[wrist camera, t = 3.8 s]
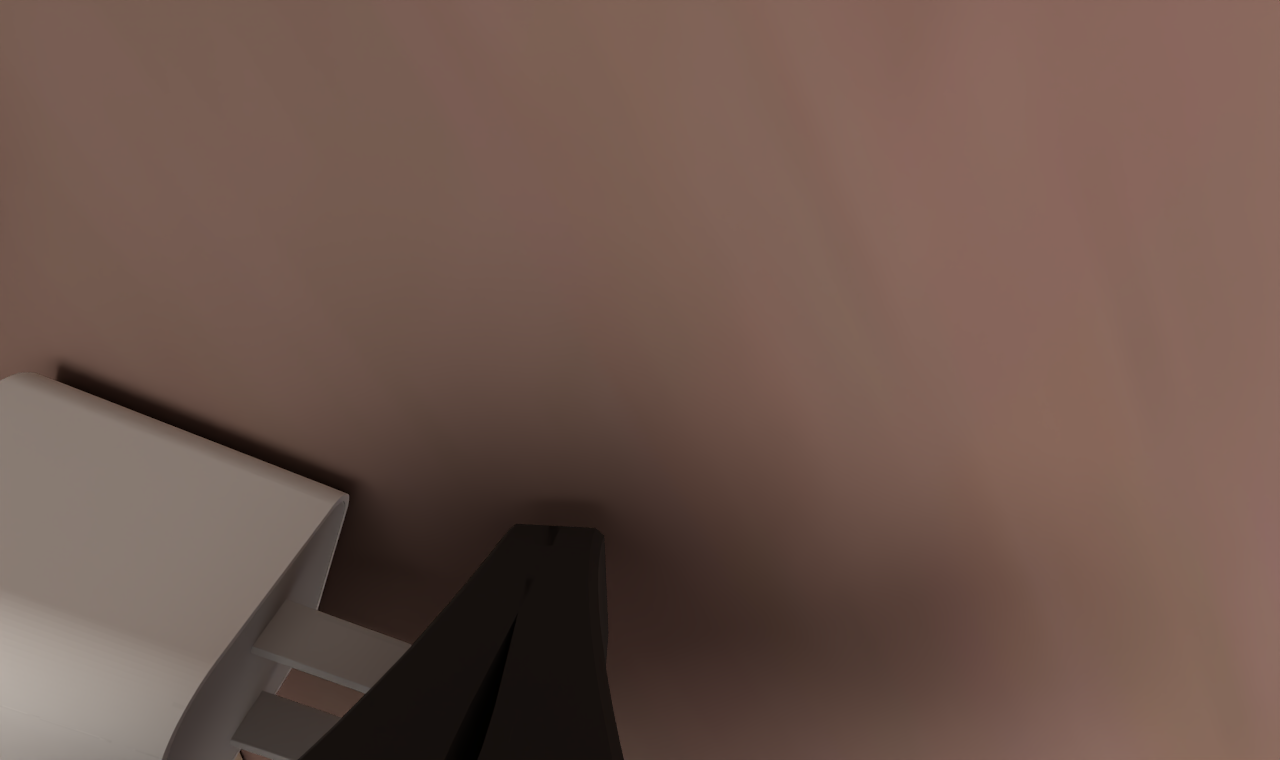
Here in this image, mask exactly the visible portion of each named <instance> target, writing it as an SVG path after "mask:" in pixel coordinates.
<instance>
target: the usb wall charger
mask: <svg viewBox="0 0 1280 760" xmlns="http://www.w3.org/2000/svg"><path fill="white" fill-rule="evenodd" d="M348 504H349V495H348V494H347V493H344V492H342V491H339V490H337V489H334V488H332V487H329V486H326V485H324V484H321V483H319V482H316V481H313V480H311V479H308V478H306V477H303V476H301V475H298V474H295V473H293V472H290V471H288V470H285V469H283V468H280V467H277V466H275V465H272V464H270V463H267V462H264V461H262V460H259V459H257V458H254V457H252V456H249V455H246V454H244V453H241V452H239V451H236V450H234V449H231V448H228V447H226V446H223V445H221V444H218V443H215V442H213V441H210V440H208V439H205V438H203V437H200V436H197V435H195V434H192V433H190V432H187V431H185V430H182V429H179V428H177V427H174V426H172V425H169V424H166V423H164V422H161V421H159V420H156V419H154V418H151V417H148V416H146V415H143V414H141V413H138V412H136V411H133V410H130V409H128V408H125V407H123V406H120V405H118V404H115V403H112V402H110V401H107V400H105V399H102V398H99V397H97V396H94V395H92V394H89V393H87V392H84V391H81V390H79V389H76V388H74V387H71V386H69V385H66V384H63V383H61V382H58V381H56V380H53V379H50V378H48V377H45V376H43V375H40V374H38V373H33V372H23V373H18V374H14V375H11V376H9V377H7V378H4V379H2V380H1V381H0V760H235V758H236V757H237V755H238V753H239V752H240V750H241V749H243V750H246V751H249V752H252V753H255V754H258V755H261V756H264V757H267V758H270V759H273V760H298V759H299V758H300V757H301V756H302V755H303V754H304V753H305V752H306V751H307V750H309V749H310V748H311V747H312V746H313V745H314V744H315V743H316V742H317V741H318V740H319V739H320V738H321V737H322V736H323V735H324V734H325V733H326V732H328V731H329V730H330V729H331V728H332V727H333V726H334V725H335V724H336V723H337V722H338V721H339V720H340V719H341V717H338V716H335V715H332V714H329V713H326V712H324V711H321V710H318V709H315V708H312V707H309V706H306V705H303V704H300V703H297V702H294V701H292V700H289V699H286V698H283V697H280V696H277V695H276V693H277V692H278V690H279V688H280V687H281V685H282V684H283V682H284V680H285V679H286V677H287V676H288V674H289V672H290V670H291V669H292V668H294V669H297V670H300V671H303V672H306V673H309V674H312V675H314V676H317V677H320V678H323V679H326V680H329V681H331V682H334V683H337V684H340V685H343V686H346V687H348V688H351V689H354V690H357V691H360V692H363V693H365V694H366V693H367V692H368V691H369V690H370V689H371V688H372V686H373V685H374V684H375V683H376V682H377V681H378V680H379V679H380V678H381V677H382V676H383V675H384V674H385V673H386V672H387V671H388V670H389V669H390V668H391V667H392V666H393V665H394V664H395V663H396V662H397V661H398V660H399V659H400V658H401V657H402V655H403V654H404V653H405V652H406V651H407V650H408V649H409V648H410V647H411V646H412V645H411V644H409V643H406V642H403V641H400V640H398V639H395V638H392V637H389V636H387V635H384V634H381V633H378V632H376V631H373V630H370V629H367V628H365V627H362V626H359V625H356V624H353V623H351V622H348V621H345V620H342V619H340V618H337V617H334V616H331V615H329V614H326V613H323V612H320V611H318V607H319V604H320V600H321V597H322V593H323V590H324V587H325V583H326V580H327V576H328V573H329V570H330V566H331V563H332V559H333V556H334V552H335V549H336V546H337V542H338V539H339V535H340V532H341V529H342V525H343V522H344V518H345V515H346V511H347V508H348Z"/></svg>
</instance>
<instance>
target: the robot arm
mask: <svg viewBox="0 0 1280 760" xmlns="http://www.w3.org/2000/svg"><path fill="white" fill-rule="evenodd" d="M607 644H608V612H607V589H606V566H605V542H604V535H603V534H602V533H601V532H599V531H598V530H597V529H596V528H582V527H563V526H543V525H524V524H516V525H514V526H513V527H512V528H511V529H510V530H508V532H507V533H506V534H505V535H504V537H503V538H502V539H501V541H500V542H499V543H498V544H497V546H496V547H495V548H494V549H493V551H492V552H491V553H490V554H489V556H488V557H487V558H486V559H485V561H484V562H483V563H482V564H481V566H480V567H479V568H478V569H477V570H476V572H475V573H474V574H473V575H472V577H471V578H470V579H469V580H468V581H467V583H466V584H465V585H464V586H463V587H462V589H461V590H460V591H459V592H458V593H457V594H456V596H455V597H454V598H453V599H452V600H451V602H450V603H449V604H448V605H447V606H446V607H445V608H444V610H443V611H442V612H441V613H440V614H439V615H438V616H437V617H436V619H435V620H434V621H433V622H432V623H431V624H430V625H429V626H428V628H427V629H426V630H425V631H424V632H423V633H422V634H421V636H420V637H419V638H418V639H417V640H416V641H415V642H414V643H413V645H412V646H411V647H410V648H409V649H408V650H407V651H406V652H405V653H404V654H403V655H402V657H401V658H400V659H399V660H398V661H397V662H396V663H395V664H394V665H393V666H392V667H391V668H390V669H389V670H388V671H387V672H386V673H385V674H384V675H383V676H382V677H381V678H380V679H379V680H378V681H377V682H376V683H375V684H374V685H373V686H372V688H371V689H370V690H369V691H368V692H367V693H366V694H365V695H364V696H363V697H362V698H361V699H360V700H359V701H358V702H357V703H356V704H355V705H354V706H353V707H352V708H351V709H350V710H349V711H348V712H347V713H346V714H345V715H344V716H343V717H342V718H341V719H340V720H339V721H338V722H337V723H336V724H335V725H334V726H333V727H332V728H331V729H330V730H329V731H328V732H326V733H325V734H324V735H323V736H322V737H321V738H320V739H319V740H318V741H317V742H316V743H315V744H314V745H313V746H312V747H311V748H310V749H309V750H307V751H306V752H305V753H304V754H303V755H302V756H301V757H300V758H299V759H298V760H624V758H623V754H622V749H621V745H620V740H619V736H618V731H617V726H616V721H615V716H614V711H613V706H612V701H611V695H610V689H609V684H608V678H607V671H606V656H607Z"/></svg>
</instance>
